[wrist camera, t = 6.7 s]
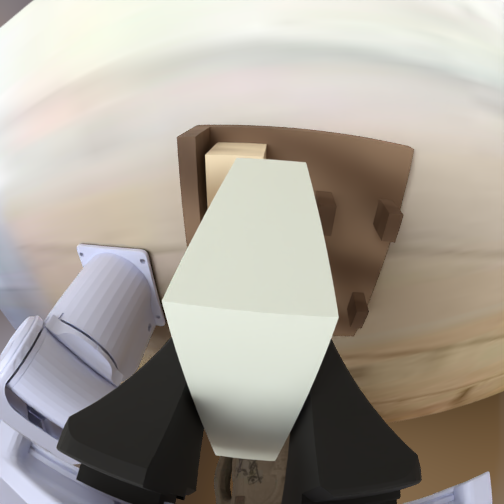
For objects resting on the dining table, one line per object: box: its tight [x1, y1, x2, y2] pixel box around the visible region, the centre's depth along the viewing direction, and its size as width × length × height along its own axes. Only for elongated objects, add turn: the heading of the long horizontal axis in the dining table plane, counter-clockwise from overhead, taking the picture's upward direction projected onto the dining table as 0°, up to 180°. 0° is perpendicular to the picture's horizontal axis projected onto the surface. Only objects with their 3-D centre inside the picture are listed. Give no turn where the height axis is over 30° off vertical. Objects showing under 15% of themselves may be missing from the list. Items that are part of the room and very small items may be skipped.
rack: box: [177, 125, 414, 336], centre depth 19 cm, size 18×14×4 cm
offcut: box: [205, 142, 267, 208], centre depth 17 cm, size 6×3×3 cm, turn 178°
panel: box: [162, 158, 339, 461], centre depth 10 cm, size 10×3×8 cm, turn 179°
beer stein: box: [214, 433, 290, 504], centre depth 25 cm, size 15×11×20 cm
